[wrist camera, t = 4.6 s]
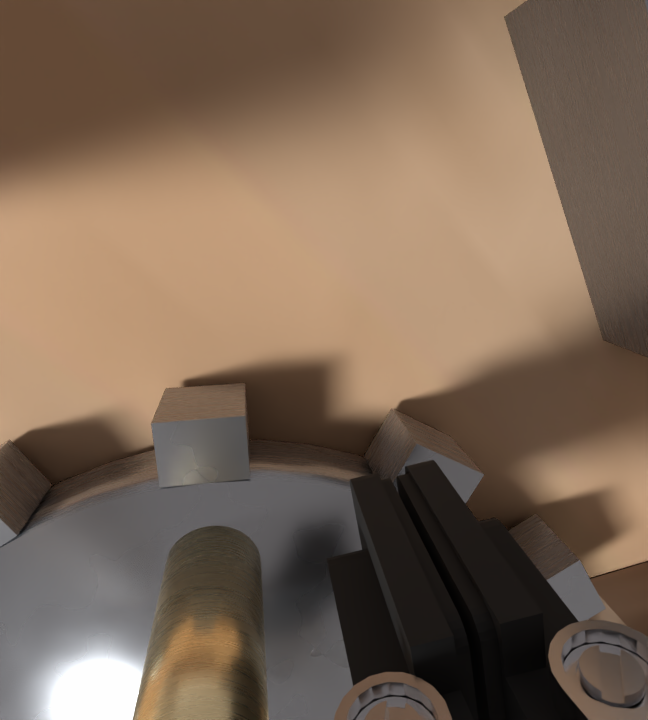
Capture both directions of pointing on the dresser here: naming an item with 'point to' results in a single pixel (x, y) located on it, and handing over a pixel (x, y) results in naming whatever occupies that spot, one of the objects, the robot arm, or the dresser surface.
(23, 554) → the sprocket
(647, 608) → the taupe wooden cube
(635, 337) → the grey rectangular block
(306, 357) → the dresser surface
